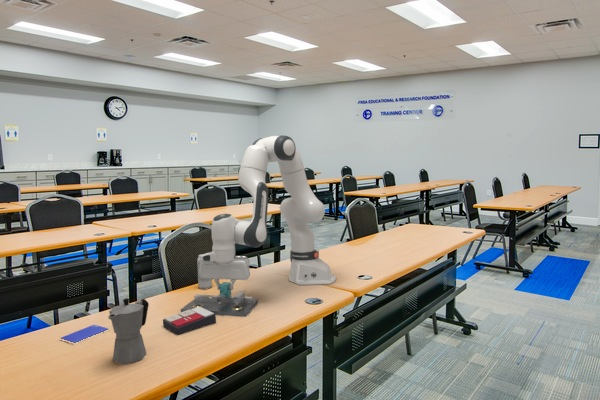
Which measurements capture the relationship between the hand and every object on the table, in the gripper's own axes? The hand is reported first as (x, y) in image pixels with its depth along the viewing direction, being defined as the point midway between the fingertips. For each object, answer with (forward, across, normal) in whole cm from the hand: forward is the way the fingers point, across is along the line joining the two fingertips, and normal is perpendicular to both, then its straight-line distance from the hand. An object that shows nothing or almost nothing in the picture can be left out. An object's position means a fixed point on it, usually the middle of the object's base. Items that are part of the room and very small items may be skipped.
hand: (225, 289), depth 171 cm
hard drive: (+7, +37, +35) cm, 51 cm away
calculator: (+7, +6, +21) cm, 23 cm away
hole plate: (+6, +1, +3) cm, 7 cm away
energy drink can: (+6, +18, -21) cm, 28 cm away
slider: (+4, 0, +3) cm, 5 cm away
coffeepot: (+6, +12, +46) cm, 48 cm away
